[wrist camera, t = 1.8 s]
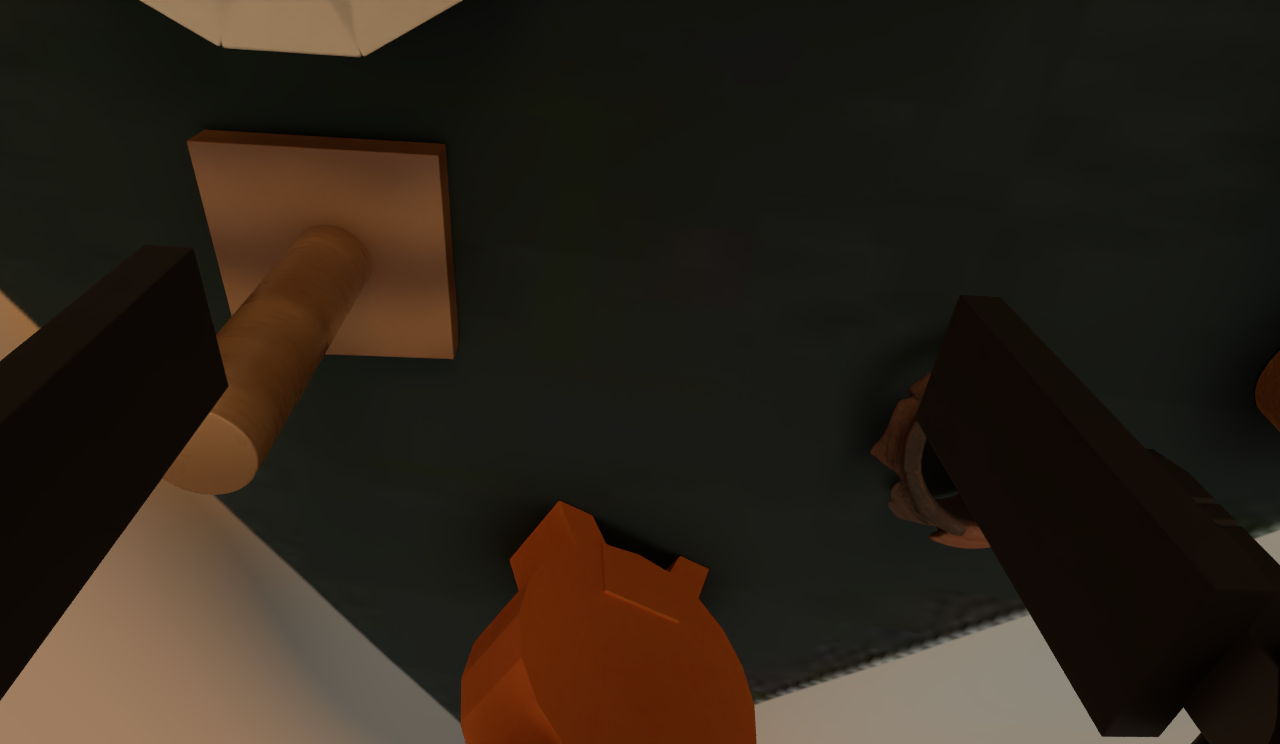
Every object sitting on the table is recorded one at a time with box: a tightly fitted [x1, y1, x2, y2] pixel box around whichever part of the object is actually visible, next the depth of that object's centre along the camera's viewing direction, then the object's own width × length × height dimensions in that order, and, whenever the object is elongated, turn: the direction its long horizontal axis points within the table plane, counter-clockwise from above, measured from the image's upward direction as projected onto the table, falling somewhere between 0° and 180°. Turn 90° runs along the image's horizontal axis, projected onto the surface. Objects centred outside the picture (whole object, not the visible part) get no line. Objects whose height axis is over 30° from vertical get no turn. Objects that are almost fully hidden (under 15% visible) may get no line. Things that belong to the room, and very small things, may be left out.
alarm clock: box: [461, 501, 756, 744], centre depth 34 cm, size 13×6×20 cm, turn 55°
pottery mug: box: [870, 371, 990, 548], centre depth 36 cm, size 12×10×8 cm
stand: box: [163, 130, 459, 495], centre depth 25 cm, size 9×9×14 cm
